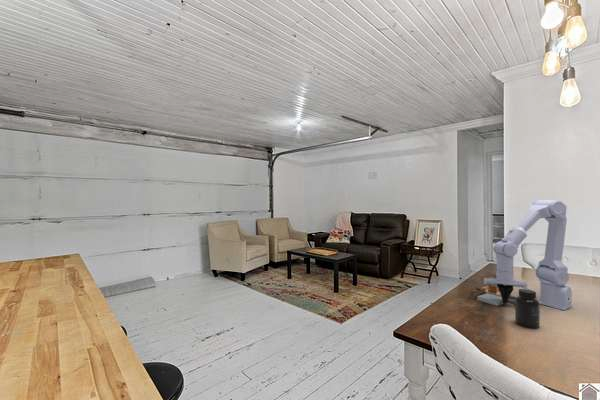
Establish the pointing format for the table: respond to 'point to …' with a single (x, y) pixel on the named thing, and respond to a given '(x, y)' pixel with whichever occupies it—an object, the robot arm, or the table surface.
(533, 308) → the supplement bottle
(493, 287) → the dowel
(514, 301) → the socket
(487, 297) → the plate
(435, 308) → the table surface
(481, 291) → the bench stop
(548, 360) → the table surface
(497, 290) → the tray
